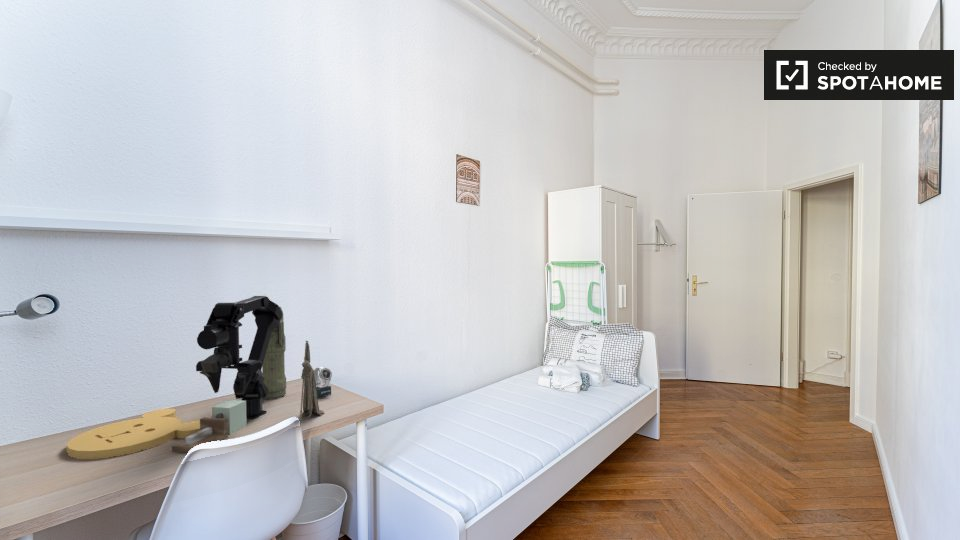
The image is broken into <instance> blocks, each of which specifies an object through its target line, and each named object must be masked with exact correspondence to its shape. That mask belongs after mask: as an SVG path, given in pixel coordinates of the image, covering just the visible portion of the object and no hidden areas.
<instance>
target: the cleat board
mask: <svg viewBox="0 0 960 540" xmlns="http://www.w3.org/2000/svg"><path fill="white" fill-rule="evenodd" d="M199 420H200V431H198V432H196V433H194V434H192V435H190V436H188V437H186V438H184V439H183V440H181V441H179V442H177V443H175V444H173V445H171V452H174V451H176V452H175V453H177V451H178V453H188V451H189V450H190V449H191V448H193V447H194V446H196V445H199V444H201V443H206V442H211V441H217V440H221V441H223V440H225V439H227V438H228V437H229V434H228V419H225V418H212V417H207V416H204V417H201V418H200V419H199Z"/></svg>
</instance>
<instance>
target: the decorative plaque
mask: <svg viewBox="0 0 960 540" xmlns="http://www.w3.org/2000/svg"><path fill="white" fill-rule="evenodd" d="M176 411H177V410H176V409H175V408H161V409H155V410H151V411H148V412H146V413H143V414H141V417H139V418H133V419H128V420H122V421H118V422H117V421H116V422H113V423H108V424H105V425H102V426H99V427H95V428H92V429H90V430H89V429H88V430H87V431H83V432H82V433H80V434H77V435H75V436H74V437H73V438H70V440H69V441H68V442H67V443H66V454H67V453H68V454H67V456H68V455H69V456H70V457H69V456H68V457H69V458H72V457H73V458H72V459H75V458H76V460H98V459H99V460H101V459H109V457H111V458H114V457H113V456H116V457H120V455H121V456H126V455H125V454H127V455H132V454H134V453H139V452H142V451H141V450H143V451H145V449H146V450H149V448H150V449H153V448H154V447H157V445H158V446H160V445H159V444H161V445H163V444H165V442H166V443H167V442H170V441H172V440H174V439H175V438H177V437H178V438H177V439H186V437H188V436H190V435H192V434H194V433H196V432H198V431H200V419H197V420H191V421H186V422H183V421H182V420H181V419H179V418H178V417H177V412H176ZM175 417H176V418H175ZM174 437H175V438H174ZM162 443H163V444H162ZM138 451H139V452H138ZM131 453H132V454H131ZM100 458H101V459H100Z"/></svg>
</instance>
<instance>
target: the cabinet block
mask: <svg viewBox="0 0 960 540" xmlns="http://www.w3.org/2000/svg"><path fill="white" fill-rule="evenodd" d="M211 415H212V416H211V418H225V419H228V435H232V434H233V433H235V432H238V431H240V430H241V429H243V428H245V427H247V418H246V401H241V399H239V400H238V399H236V400H234V399H229V400H226V401H224V402H221V403H219V404H216V405H213V406H212V407H211Z"/></svg>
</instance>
